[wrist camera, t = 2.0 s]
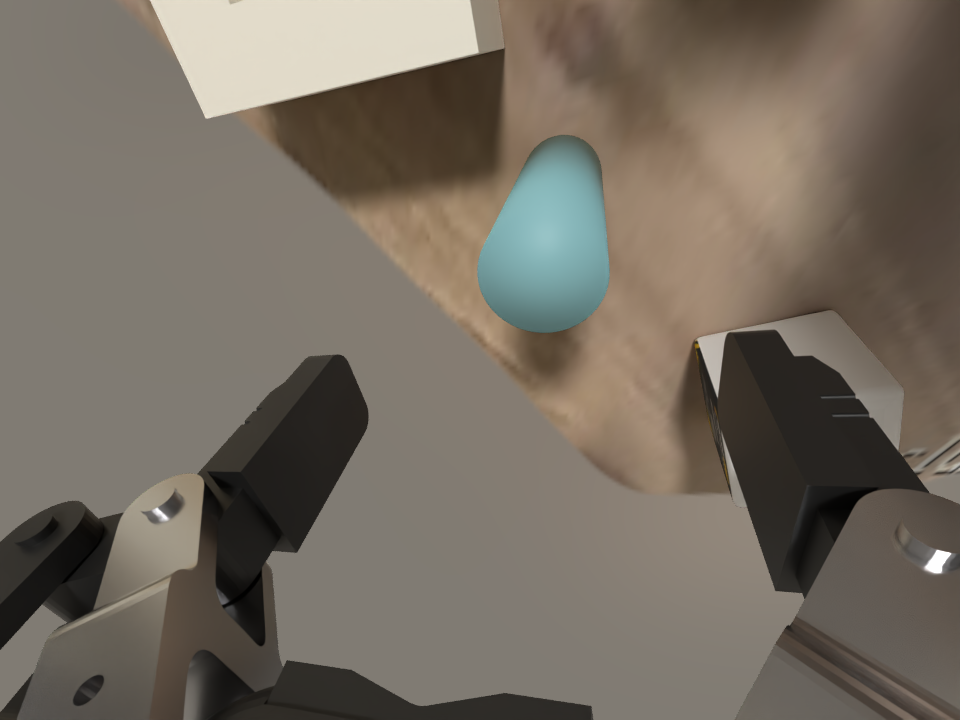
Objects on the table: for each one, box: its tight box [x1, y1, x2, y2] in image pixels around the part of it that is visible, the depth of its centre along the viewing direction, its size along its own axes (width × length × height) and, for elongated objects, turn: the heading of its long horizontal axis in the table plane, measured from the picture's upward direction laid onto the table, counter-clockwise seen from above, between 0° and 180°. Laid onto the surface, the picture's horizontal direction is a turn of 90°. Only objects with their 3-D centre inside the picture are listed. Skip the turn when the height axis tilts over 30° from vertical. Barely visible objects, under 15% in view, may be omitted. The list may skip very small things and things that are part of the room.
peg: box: [478, 135, 610, 333], centre depth 19 cm, size 4×4×12 cm
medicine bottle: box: [695, 310, 904, 508], centre depth 23 cm, size 7×7×12 cm
